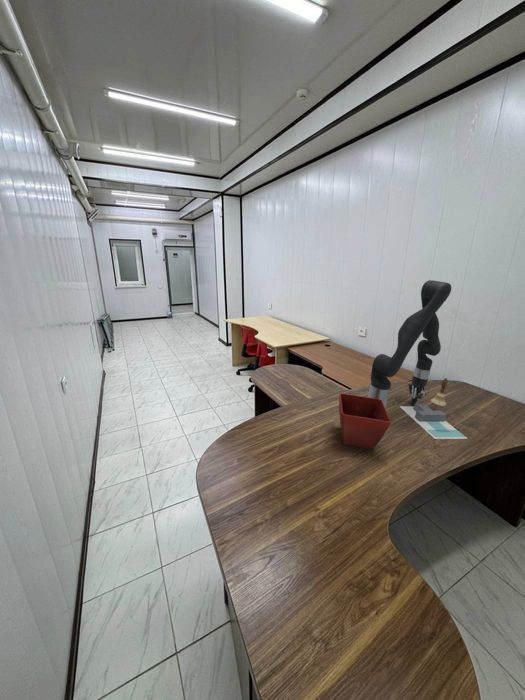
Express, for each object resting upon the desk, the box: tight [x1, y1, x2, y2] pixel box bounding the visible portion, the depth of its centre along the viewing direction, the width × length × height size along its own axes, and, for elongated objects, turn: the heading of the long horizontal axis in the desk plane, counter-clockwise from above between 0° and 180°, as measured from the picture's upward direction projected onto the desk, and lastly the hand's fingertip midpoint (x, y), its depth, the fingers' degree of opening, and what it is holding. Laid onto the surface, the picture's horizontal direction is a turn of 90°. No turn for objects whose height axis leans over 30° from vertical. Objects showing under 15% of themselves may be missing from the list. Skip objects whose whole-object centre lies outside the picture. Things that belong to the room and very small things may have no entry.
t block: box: [413, 402, 447, 422], centre depth 148 cm, size 14×12×4 cm
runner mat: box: [399, 405, 468, 440], centre depth 143 cm, size 17×29×1 cm, turn 6°
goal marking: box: [427, 421, 466, 437], centre depth 137 cm, size 16×14×1 cm
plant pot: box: [338, 392, 392, 450], centre depth 122 cm, size 19×19×17 cm
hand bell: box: [430, 377, 448, 407], centre depth 161 cm, size 8×8×16 cm
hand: (413, 403), depth 158 cm, fingers closed
